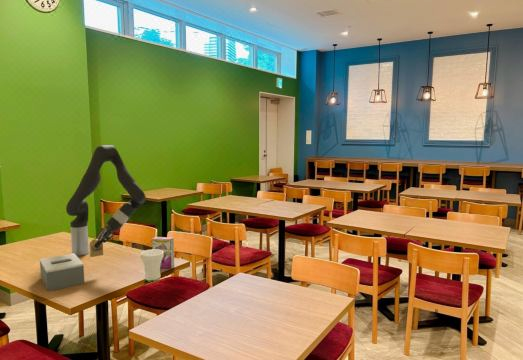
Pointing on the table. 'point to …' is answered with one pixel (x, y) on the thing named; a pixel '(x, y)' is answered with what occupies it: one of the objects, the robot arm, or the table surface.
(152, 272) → the cup
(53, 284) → the coin box
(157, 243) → the candy bar box
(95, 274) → the table surface
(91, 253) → the token
